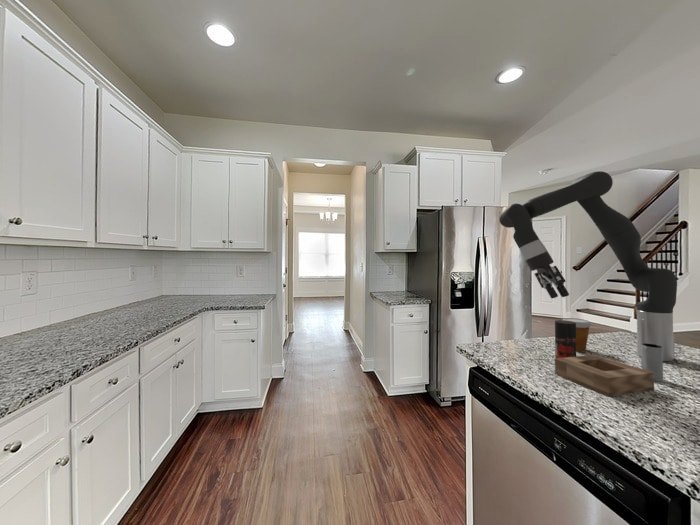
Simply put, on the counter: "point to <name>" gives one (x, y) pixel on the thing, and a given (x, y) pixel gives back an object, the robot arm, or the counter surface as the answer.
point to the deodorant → (565, 339)
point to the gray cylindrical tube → (652, 360)
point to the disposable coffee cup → (580, 332)
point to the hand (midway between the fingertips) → (560, 297)
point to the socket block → (605, 375)
